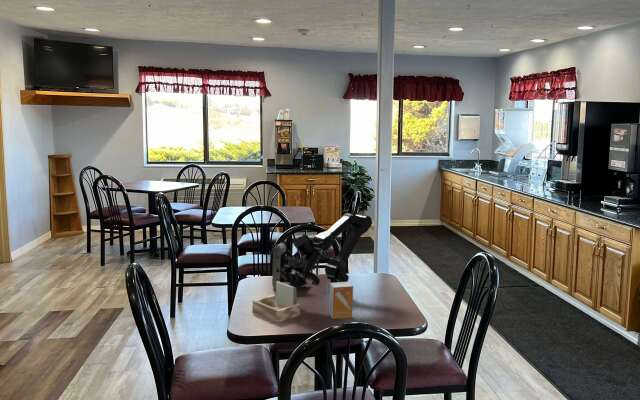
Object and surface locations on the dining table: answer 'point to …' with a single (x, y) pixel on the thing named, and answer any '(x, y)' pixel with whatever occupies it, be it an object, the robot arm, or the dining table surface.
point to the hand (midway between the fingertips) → (289, 292)
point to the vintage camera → (280, 264)
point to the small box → (340, 300)
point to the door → (285, 294)
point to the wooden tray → (275, 309)
